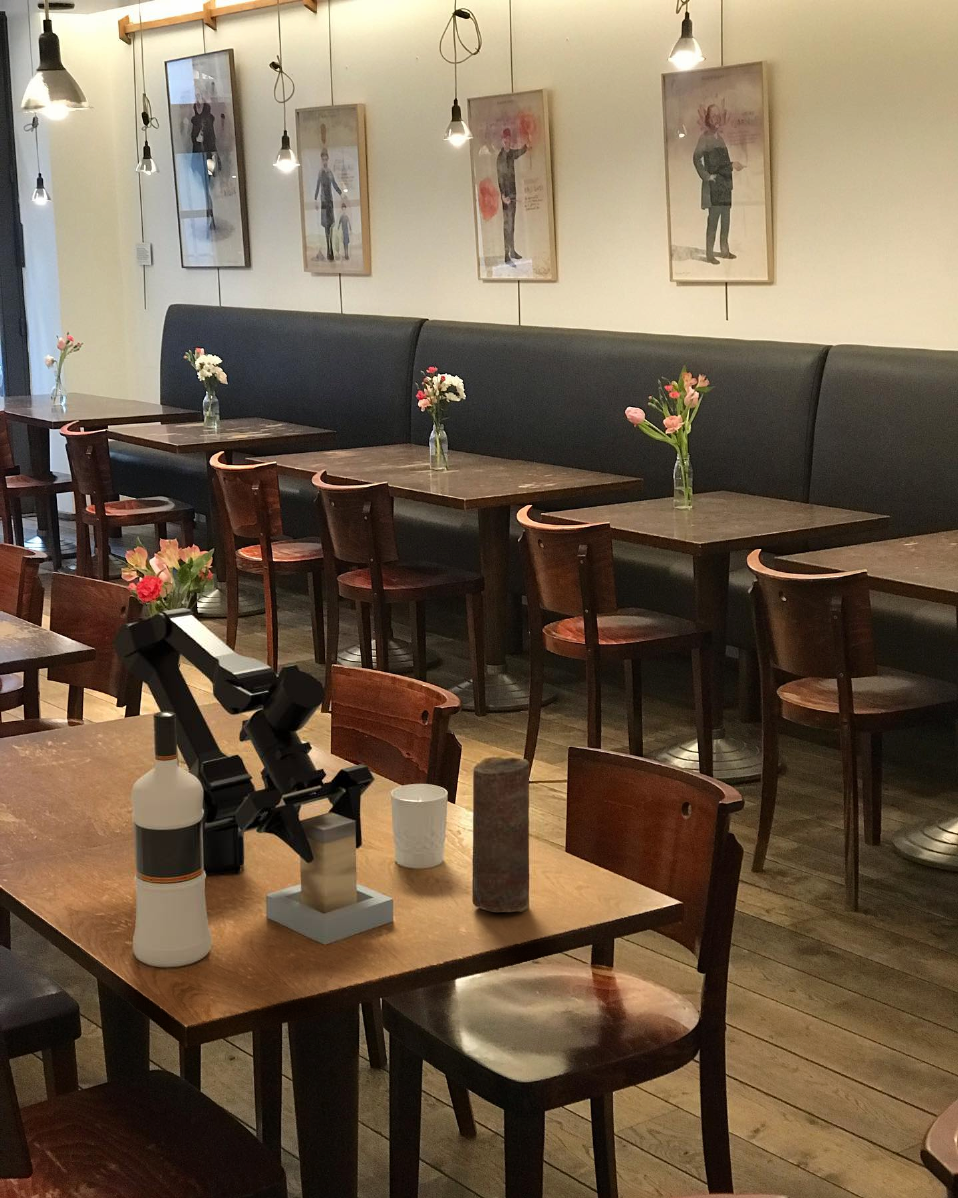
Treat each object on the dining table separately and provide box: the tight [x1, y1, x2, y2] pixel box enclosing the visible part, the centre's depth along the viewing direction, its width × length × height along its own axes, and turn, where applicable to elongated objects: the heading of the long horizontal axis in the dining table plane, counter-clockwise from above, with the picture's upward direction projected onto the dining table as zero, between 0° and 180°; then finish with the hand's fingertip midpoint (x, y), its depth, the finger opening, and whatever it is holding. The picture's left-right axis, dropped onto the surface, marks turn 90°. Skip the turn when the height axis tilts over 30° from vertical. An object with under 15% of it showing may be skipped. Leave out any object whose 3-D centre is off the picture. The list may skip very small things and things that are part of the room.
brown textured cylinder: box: [471, 756, 530, 913], centre depth 205 cm, size 8×7×20 cm
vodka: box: [130, 711, 212, 969], centre depth 189 cm, size 9×9×30 cm
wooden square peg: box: [299, 812, 358, 914], centre depth 202 cm, size 5×5×13 cm
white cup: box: [390, 783, 448, 870], centre depth 223 cm, size 8×8×10 cm
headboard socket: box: [265, 883, 394, 946], centre depth 203 cm, size 12×11×3 cm
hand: (335, 854), depth 200 cm, fingers open, 7 cm apart
